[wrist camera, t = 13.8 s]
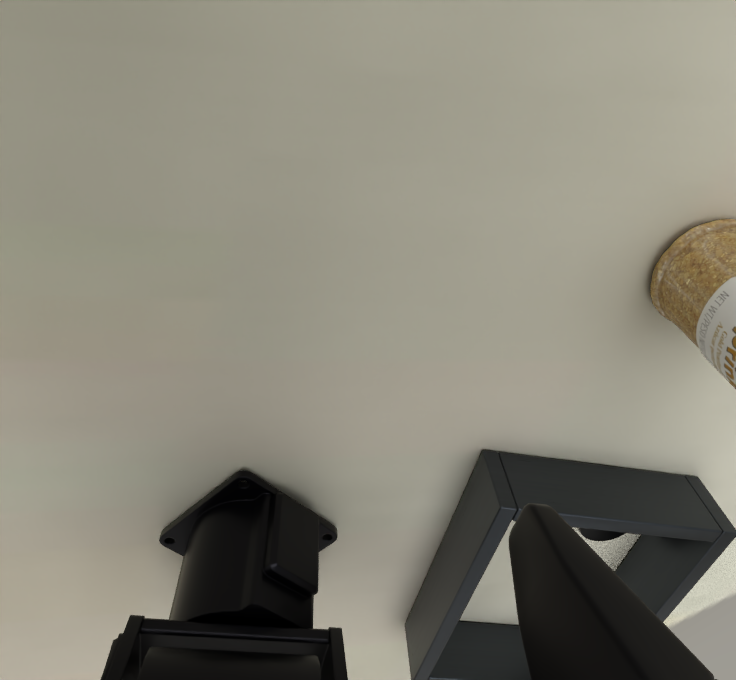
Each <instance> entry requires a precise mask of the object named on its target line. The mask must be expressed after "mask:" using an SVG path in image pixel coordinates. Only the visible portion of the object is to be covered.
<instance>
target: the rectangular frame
mask: <svg viewBox="0 0 736 680" xmlns="http://www.w3.org/2000/svg"><path fill="white" fill-rule="evenodd" d="M528 503H535V504H544V505H548V506H550V507H552V508H553V509H554V510H555V511H556V512H557V513H558V514H559V515H560V516H561V517H562V518H563V519H564V520H565V521H566V522H567V523H568V524H569V525H570V526H571V527H576V528H579V530H580V532H581V534H582V535H583V536H584V537H586V538H587V539H590V540H594V541H606V540H611V539H614V538H617V537H619V536H621V535H623V534H625V533H632V534H642V535H641V537H640V538H639V540H638V541H637V542H636V544H635V545H634V546H633V548H632V549H631V551H630V552H629V553H628V555H627V556H626V558H625V559H624V560H623V562H622V563H621V565H620V566H619V567H618V569H617V570H616V572H615V573H616V574H617V575H618V576H619V577H620V578H621V580H622V581H623V582H624V583H625V584H626V585H627V586H628V587H629V588H630V589H631V590H632V591H633V592H634V593H635V594H636V595H637V596H638V597H639V598H640V599H641V600H642V601H643V602H644V603H645V604H646V606H647V607H648V608H649V609H650V610H651V611H652V612H653V613H654V614H655V615H656V616H657V617H658V618H659V619H660V620H661V621H662V622H664V620H665V619H666V618H667V617H668V616H669V615H670V613H671V612H672V611H673V610H674V609H675V608H676V606H677V605H678V604H679V603H680V602H681V601H682V599H683V598H684V597H685V596H686V595H687V593H688V592H689V591H690V590H691V589H692V588H693V586H694V585H695V584H696V583H697V582H698V581H699V579H700V578H701V577H702V576H703V575H704V573H705V572H706V571H707V570H708V569H709V568H710V566H711V565H712V564H713V563H714V562H715V561H716V559H717V558H718V557H719V556H720V555H721V554H722V552H723V551H724V550H725V549H726V548H727V546H728V545H729V544H730V543H731V542H732V541H733V539H734V538H735V537H736V529H735V528H734V526H733V525H732V524H731V522H730V521H729V519H728V518H727V517H726V515H725V514H724V512H723V511H722V510H721V508H720V507H719V506H718V504H717V503H716V501H715V500H714V499H713V497H712V496H711V494H710V493H709V492H708V490H707V489H706V487H705V486H704V485H703V483H702V482H701V480H700V479H699V478H698V477H695V476H687V475H685V476H683V475H677V474H669V473H661V472H653V471H645V470H637V469H630V468H622V467H614V466H606V465H598V464H590V463H583V462H575V461H567V460H559V459H551V458H543V457H536V456H528V455H520V454H512V453H504V452H499V453H498V452H496V451H489V450H483V451H482V452H481V455H480V457H479V459H478V461H477V464H476V466H475V468H474V470H473V473H472V475H471V477H470V479H469V482H468V484H467V486H466V488H465V491H464V493H463V495H462V497H461V500H460V502H459V504H458V506H457V509H456V511H455V513H454V515H453V518H452V520H451V522H450V524H449V527H448V529H447V531H446V533H445V536H444V538H443V540H442V542H441V545H440V547H439V549H438V551H437V554H436V556H435V558H434V560H433V563H432V565H431V567H430V569H429V572H428V574H427V576H426V578H425V581H424V583H423V585H422V587H421V590H420V592H419V594H418V596H417V599H416V601H415V603H414V605H413V608H412V610H411V612H410V614H409V617H408V619H407V621H406V623H405V631H406V640H407V648H408V657H409V665H410V674H411V680H531V676H530V672H529V668H528V664H527V659H526V655H525V651H524V646H523V642H522V637H521V632H520V627H519V626H515V625H501V624H488V623H474V622H461V621H459V619H460V617H461V615H462V613H463V611H464V610H465V608H466V606H467V604H468V602H469V600H470V598H471V596H472V594H473V593H474V591H475V589H476V587H477V585H478V583H479V581H480V579H481V577H482V575H483V574H484V572H485V570H486V568H487V566H488V564H489V562H490V560H491V558H492V556H493V555H494V553H495V551H496V549H497V547H498V545H499V543H500V541H501V539H502V537H503V536H504V534H505V532H506V530H507V528H508V526H509V524H510V522H511V520H513V521H517V519H518V517H519V515H520V513H521V511H522V509H523V508H524V506H525V505H527V504H528Z"/></svg>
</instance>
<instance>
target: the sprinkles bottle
mask: <svg viewBox="0 0 736 680" xmlns="http://www.w3.org/2000/svg"><path fill="white" fill-rule="evenodd" d="M650 287H651V292H650V293H651V298H652V303H653V305H654V306H655V307H656V309H657V310H658V311H659V312H660V314H661V315H663V316H664V317H665V318H667V319H668V320H670V321H672V322H673V323H674V324H675V325H677V326H678V327H679V328H680V329H681V330H682V331H683V332H684V333H685V334H686V335H687V336H688V338H689V339H690V340H692V342H693V343H694V344H695V345H696V346H697V347H698V348H699V349H700V351H701V353H702V354H703V356H704V357H705V358H706V359H707V360H708V361H709V362H710V363H711V364H712V365H713V366H714V367H715V368H716V369H717V370H718V371H719V373H720V374H721V375H722V376H723V377H724V378H725V379H726V380H727V381H728V382H729V383H730V384H731V385H732V386H733V387H734V388H735V389H736V220H734V219H722V220H716V221H712V222H709V223H705V224H702V225H699V226H696V227H694V228H691V229H690V230H689V231H688V232H686V233H685V234H683V235H682V236H680V237H679V238H678V239H677V240H676V241H674V243H673V244H672V245H671V246H670V247H669V248H668V250H667V251H666V252H665V253H664V254H663V255H662V256H661V258H660V260H659V262H658V263H657V264H656V266H655V268H654V272H653V274H652V282H651V286H650Z"/></svg>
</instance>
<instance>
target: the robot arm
mask: <svg viewBox="0 0 736 680" xmlns="http://www.w3.org/2000/svg"><path fill="white" fill-rule="evenodd" d="M242 481H247V482H242ZM336 540H337V528H336V527H335V526H333V525H332V524H330V523H329V522H327V521H326V520H324V519H323V518H321V517H319V516H318V515H316V514H315V513H313V512H312V511H310V510H309V509H307V508H306V507H304V506H302V505H301V504H299V503H298V502H296V501H295V500H293V499H292V498H290V497H289V496H287V495H285V494H284V493H282V492H281V491H279V490H278V489H276V488H275V487H273V486H272V485H270V484H268V483H267V482H265V481H264V480H262V479H261V478H259V477H258V476H256V475H255V474H253V473H251V472H249V471H244V470H243V471H239V472H237V473H235V474H234V475H233V476H231V477H230V478H229V479H228V480H226V481H225V482H224V483H222V484H221V485H220V486H219V487H217V488H216V489H215V490H213V491H212V492H211V493H210V494H208V495H207V496H206V497H205V498H203V499H202V500H201V501H199V502H198V503H197V504H196V505H194V506H193V507H192V508H190V509H189V510H188V511H187V512H185V513H184V514H183V515H181V516H180V517H179V518H178V519H176V520H175V521H174V522H172V523H171V524H170V525H169V526H167V527H166V528H165V529H163V531H162V532H161V535H160V539H159V541H160V543H161V544H162V545H163V546H165V547H167V548H169V549H171V550H173V551H174V552H176V553H178V554H180V555H182V556H184V558H183V562H182V566H181V571H180V575H179V579H178V583H177V587H176V592H175V596H174V600H173V604H172V608H171V613H170V617H169V620H164V619H148V618H145V617H144V616H138V615H130V617H129V620H128V623H127V625H126V628H125V630H124V633H123V634H122V633H120V634H119V636H118V638H117V639H115V640H113V643H112V646H111V650H110V653H109V656H108V659H107V662H106V666H105V669H104V672H103V675H102V677H101V680H348V678H347V669H346V661H345V652H344V644H343V636H342V628H333V627H329V628H328V629H313V599H314V595H315V594H316V593H317V592H318V563H319V552H320V551H321V550H323V549H324V548H326V547H327V546H329V545H330V544H332V543H333V542H335V541H336ZM509 551H510V558H511V566H512V574H513V582H514V590H515V598H516V606H517V614H518V621H519V627H520V632H521V637H522V642H523V646H524V651H525V655H526V659H527V664H528V668H529V672H530V676H531V680H717V679H714V676H713V674H712V673H711V672H710V671H709V670H708V669H707V668H706V667H705V666H704V665H703V664H702V663H701V662H700V661H699V660H698V659H697V658H696V656H695V655H694V654H693V653H691V651H690V650H689V649H688V648H687V647H686V646H685V645H684V644H683V643H682V642H681V641H680V640H679V639H678V638H677V637H676V636H675V635H674V634H673V633H672V632H671V630H670V629H669V628H668V627H667V626H666V625H665V624H664V623H663V622H662V621H661V620H660V619H659V618H658V617H657V616H656V615H655V614H654V613H653V612H652V611H651V610H650V609H649V608H648V607H647V606H646V604H645V603H644V602H643V601H642V600H641V599H640V598H639V597H638V596H637V595H636V594H635V593H634V592H633V591H632V590H631V589H630V588H629V587H628V586H627V585H626V584H625V583H624V582H623V581H622V580H621V578H620V577H619V576H618V575H617V574H616V573H615V572H614V571H613V570H612V569H611V568H610V567H609V566H608V565H607V564H606V563H605V562H604V561H603V560H602V559H601V558H600V557H599V556H598V555H597V554H596V552H595V551H594V550H593V549H592V548H591V547H590V546H589V545H588V544H587V543H586V542H585V541H584V540H583V539H582V538H581V537H580V536H579V535H578V534H577V533H576V532H575V531H574V530H573V529H572V527H571V526H570V525H569V524H568V523H567V522H566V521H565V520H564V519H563V518H562V517H561V516H560V515H559V514H558V513H557V512H556V511H555V510H554V509H553V508H552V507H550V506H548V505H544V504H535V503H528V504H527V505H525V506H524V508H523V509H522V511H521V513H520V515H519V517H518V519H517V521H516V523H515V524H514V526H513V528H512V530H511V532H510V536H509Z"/></svg>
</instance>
